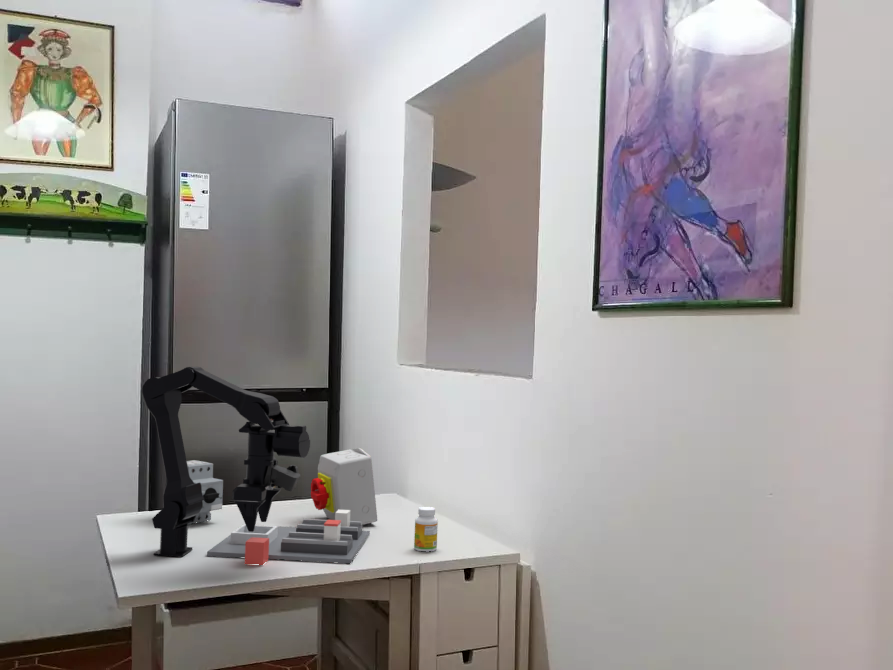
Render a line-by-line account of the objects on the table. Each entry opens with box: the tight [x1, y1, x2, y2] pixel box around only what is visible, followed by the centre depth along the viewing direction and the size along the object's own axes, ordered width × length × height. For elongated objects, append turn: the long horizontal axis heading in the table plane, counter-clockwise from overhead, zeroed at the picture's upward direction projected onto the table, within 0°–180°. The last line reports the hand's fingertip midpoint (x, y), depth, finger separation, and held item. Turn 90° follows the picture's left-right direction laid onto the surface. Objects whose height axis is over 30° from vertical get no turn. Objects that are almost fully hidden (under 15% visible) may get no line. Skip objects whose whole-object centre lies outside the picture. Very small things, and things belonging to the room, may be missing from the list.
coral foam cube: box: [244, 537, 269, 565], centre depth 174 cm, size 4×4×5 cm
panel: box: [206, 518, 371, 564], centre depth 191 cm, size 27×32×4 cm
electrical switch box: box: [310, 447, 378, 526], centre depth 215 cm, size 15×15×20 cm
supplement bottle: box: [413, 506, 439, 553], centre depth 191 cm, size 5×5×10 cm
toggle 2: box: [335, 509, 350, 527], centre depth 198 cm, size 4×3×4 cm
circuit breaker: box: [186, 459, 224, 525], centre depth 210 cm, size 8×14×15 cm, turn 53°
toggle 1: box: [324, 519, 341, 541], centre depth 184 cm, size 4×3×4 cm
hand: (257, 526), depth 174 cm, fingers open, 9 cm apart
